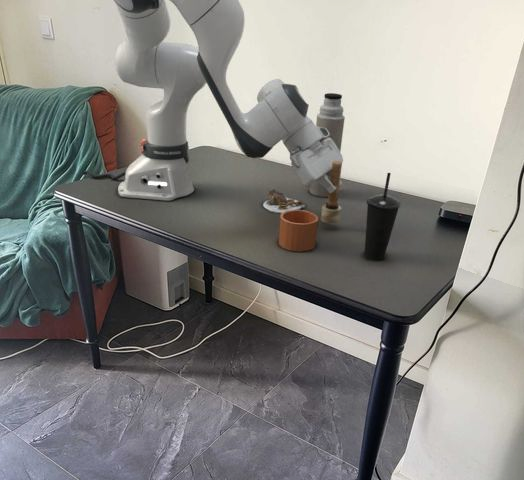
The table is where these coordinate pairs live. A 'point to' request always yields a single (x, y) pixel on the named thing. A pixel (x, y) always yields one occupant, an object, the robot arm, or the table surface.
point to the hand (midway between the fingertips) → (336, 189)
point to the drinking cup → (380, 223)
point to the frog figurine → (281, 203)
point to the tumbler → (298, 230)
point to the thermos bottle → (330, 130)
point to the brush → (333, 197)
